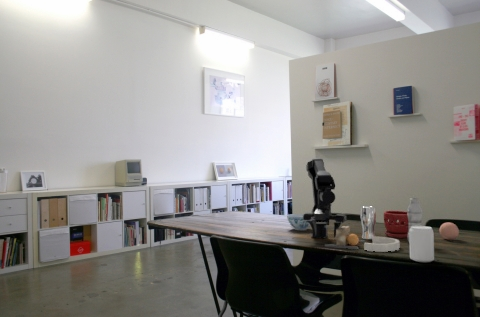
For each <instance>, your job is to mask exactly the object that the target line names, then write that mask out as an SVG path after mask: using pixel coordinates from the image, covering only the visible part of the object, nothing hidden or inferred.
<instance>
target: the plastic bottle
mask: <svg viewBox="0 0 480 317" xmlns="http://www.w3.org/2000/svg"><path fill="white" fill-rule="evenodd" d="M406 212H407V215H408V222H409V223H408V224H409V226H408V235H407V237H406V238H407V241H408V242H409V230H410V228H411V226H422V218H423V209H422V207H421V205H420V201H419V198H418V197H414V198H413V197H410V198H409V205H408V207H407V209H406Z"/></svg>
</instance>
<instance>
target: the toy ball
mask: <svg viewBox="0 0 480 317" xmlns="http://www.w3.org/2000/svg"><path fill="white" fill-rule="evenodd" d="M439 234H440V236H441V237H442V238H444V239H446V240H448V241H449V240H450V241H451V240H452V241H453V240H454V239H456V238H457V237H458V235H460V230H459V228H458V226H457V225H456V224H454V223H453V222H444V223H442V224H441V225H440V227H439Z"/></svg>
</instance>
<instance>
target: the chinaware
mask: <svg viewBox="0 0 480 317" xmlns="http://www.w3.org/2000/svg"><path fill="white" fill-rule="evenodd" d="M304 214H305V213H292V214H287V215H286V217H287V222H288V223H289V224H290V225H291V227H293V228H294V231H307V230H308V228H309V227H311V225H310V224H309V222H306V221H307V220H303V215H304Z"/></svg>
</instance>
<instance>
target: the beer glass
mask: <svg viewBox="0 0 480 317" xmlns="http://www.w3.org/2000/svg"><path fill="white" fill-rule="evenodd" d="M376 217H377V215H376V207H375V206H371V205H370V206H360V222H361V227H362V234H361V239H362V240H372V236H375V237H376V235H375V227H376V221H377V218H376Z"/></svg>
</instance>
